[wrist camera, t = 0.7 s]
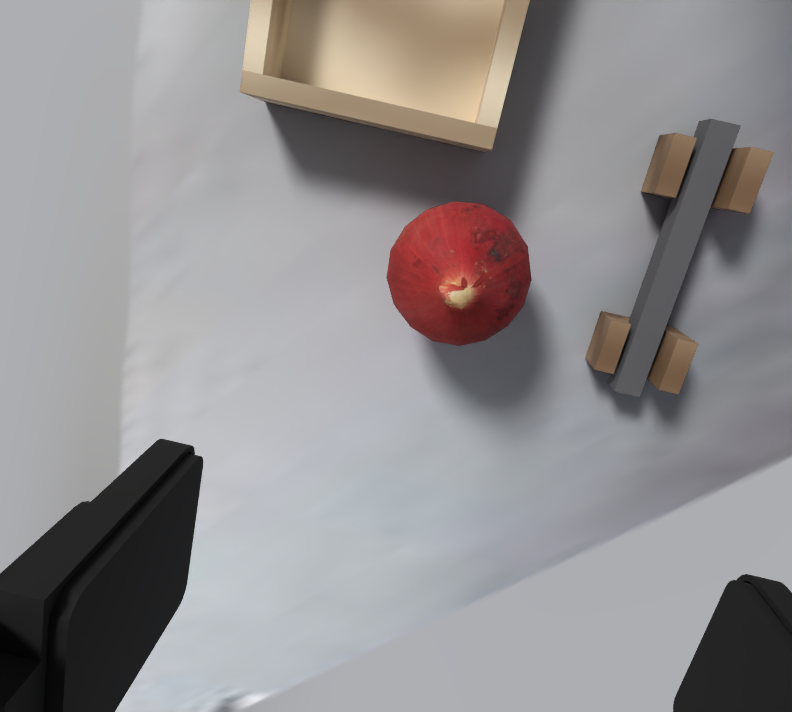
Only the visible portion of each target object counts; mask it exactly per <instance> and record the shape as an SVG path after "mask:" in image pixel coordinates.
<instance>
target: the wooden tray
mask: <svg viewBox="0 0 792 712" xmlns="http://www.w3.org/2000/svg"><path fill="white" fill-rule="evenodd" d="M529 1H530V0H251V5H250V13H249V21H248V29H247V37H246V45H245V53H244V61H243V69H242V77H241V85H240V92H241V93H244V94H246V95H249V96H251V97H254V98H257V99H259V100H262V101H264V102H268V103H272V104H277V105H281V106H285V107H290V108H294V109H298V110H303V111H307V112H312V113H316V114H320V115H325V116H329V117H333V118H338V119H342V120H346V121H351V122H355V123H360V124H364V125H368V126H373V127H377V128H381V129H386V130H390V131H394V132H399V133H403V134H408V135H412V136H416V137H421V138H425V139H429V140H434V141H438V142H442V143H447V144H451V145H456V146H460V147H464V148H469V149H473V150H477V151H482V152H488V151H490V150H492V147H493V143H494V139H495V135H496V131H497V128H498V124H499V120H500V116H501V112H502V108H503V104H504V100H505V96H506V92H507V88H508V84H509V80H510V76H511V72H512V68H513V64H514V60H515V57H516V53H517V49H518V45H519V41H520V37H521V33H522V29H523V25H524V21H525V17H526V13H527V9H528V5H529Z"/></svg>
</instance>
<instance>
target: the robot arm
mask: <svg viewBox="0 0 792 712" xmlns="http://www.w3.org/2000/svg"><path fill="white" fill-rule="evenodd" d="M202 469H203V458H202V457H201V456H197V455H195V452H194V447H193V446H191V445H186V444H182V443H178V442H174V441H169V440H165V439H159V440H157V441H156V442H155V443H154V444H153V445H152V446H151V447H150V448H149V449H148V450H146V451H145V452H144V453H143V454H142V455H141V456H140V457H139V458H138V459H137V460H136V461H135V462H133V463H132V464H131V465H130V466H129V467H128V468H127V469H126V470H125V471H124V472H123V473H122V474H120V475H119V476H118V477H117V478H116V479H115V480H114V481H113V482H112V483H111V484H110V485H109V486H108V487H107V488H105V489H104V490H103V491H102V492H101V493H100V494H99V495H98V496H97V497H96V498H95V499H93V500H92V501H91V502H89V501H86V502H81V503H80V504H78V505H77V506H75V507H74V508H73V509H72V510H71V511H70V512H69V513H67V514H66V515H65V516H64V517H63V518H62V519H61V520H60V521H58V522H57V523H56V524H55V525H54V526H53V527H52V528H51V529H50V530H48V531H47V532H46V533H45V534H44V535H43V536H42V537H41V538H40V539H38V540H37V541H36V542H35V543H34V544H33V545H32V546H31V547H29V548H28V549H27V550H26V551H25V552H24V553H23V554H22V555H21V556H19V557H18V559H16V560H15V561H14V562H13V563H12V564H11V565H9V566H8V567H7V568H6V569H5V570H4V571H3V572H2V573H1V574H0V712H115V710H116V709H117V707H118V706H119V704H120V702H121V701H122V699H123V697H124V696H125V694H126V692H127V691H128V689H129V687H130V686H131V684H132V683H133V681H134V679H135V678H136V676H137V674H138V673H139V671H140V669H141V668H142V666H143V665H144V663H145V661H146V660H147V658H148V656H149V655H150V653H151V651H152V650H153V648H154V646H155V645H156V643H157V642H158V640H159V638H160V637H161V635H162V633H163V632H164V630H165V628H166V627H167V625H168V624H169V622H170V620H171V619H172V617H173V615H174V614H175V612H176V610H177V609H178V607H179V605H180V603H181V601H182V599H183V596H184V593H185V590H186V585H187V579H188V572H189V565H190V557H191V550H192V542H193V535H194V528H195V520H196V513H197V506H198V498H199V491H200V483H201V476H202ZM673 710H674V711H673V712H792V593H791V592H790V590H789V589H788V588H787V587H786V586H785V585H784V584H782V583H781V582H777V581H773V580H769V579H765V578H761V577H756V576H752V575H748V574H745V575H742V576H740V577H739V578H738V579H737V580H733V581H730V582H729V583H728V584H727V586H726V587H725V590H724V592H723V594H722V596H721V598H720V601H719V603H718V605H717V607H716V609H715V611H714V613H713V616H712V618H711V620H710V622H709V624H708V627H707V629H706V631H705V633H704V635H703V638H702V640H701V642H700V644H699V646H698V648H697V651H696V653H695V655H694V657H693V659H692V661H691V664H690V666H689V668H688V670H687V673H686V675H685V677H684V679H683V681H682V683H681V685H680V688H679V690H678V692H677V694H676V697H675V700H674V705H673Z"/></svg>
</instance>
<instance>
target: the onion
mask: <svg viewBox="0 0 792 712" xmlns="http://www.w3.org/2000/svg"><path fill="white" fill-rule="evenodd" d="M387 281H388V284H389V288H390V292H391V295H392V299H393V303H394V305H395V307H396V308H397V309H398V311H399V312H400V313H401V314H402V316H403V317H404V318H405V320H406V321H407V322H408V324H409V325H410V326H411V327H412V328H414V329H415V330H417V331H418V332H420V333H421V334H423V335H424V336H426V337H427V338H429V339H430V340H432V341H436V342H441V343H447V344H453V345H458V346H460V345H465V344H470V343H475V342H479V341H484V340H486V339H488V338H489V337H491V336H493V335H494V334H496V333H497V332H499V331H501V330H502V329H504V328H505V327H507V326H508V325H509V323H510V322H511V321H512V320H513V318H514V317H515V316H516V315H517V314H518V312H519V311H520V310H521V309H522V307H523V306H524V303H525V299H526V296H527V292H528V289H529V286H530V282H531V272H530V263H529V254H528V246H527V245H526V243H525V242H524V240H523V238H522V237H521V235H520V234H519V232H518V231H517V229H516V228H515V226H514V224H513V223H512V221H511V220H510V219H508V218H506V217H505V216H503V215H501V214H500V213H498V212H496V211H495V210H493V209H491V208H490V207H488V206H486V205H485V204H479V203H467V202H455V201H454V202H450V203H447V204H444V205H440V206H437V207H434V208H430V209H427V210H426V211H424V212H423V213H422V214H421V215H419V216H418V217H417V218H416V219H414V220H413V221H412V222H410V223H409V224H408V225H407V226H405V228H404V229H403V231H402V233H401V234H400V236H399V238H398V239H397V241H396V242H395V244H394V246H393V247H392V249H391V251H390V258H389V265H388V272H387Z"/></svg>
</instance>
